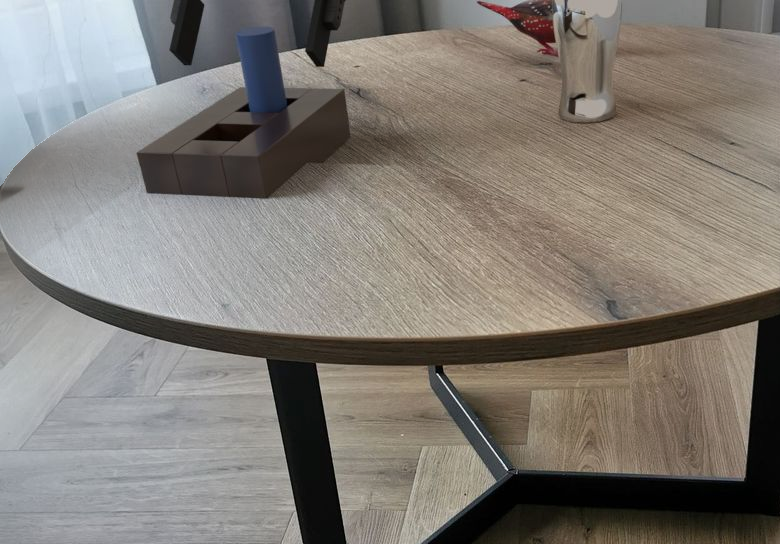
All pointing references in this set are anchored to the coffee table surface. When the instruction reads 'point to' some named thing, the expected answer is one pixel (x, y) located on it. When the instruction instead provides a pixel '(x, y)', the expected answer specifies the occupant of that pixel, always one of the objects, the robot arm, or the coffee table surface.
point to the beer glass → (587, 57)
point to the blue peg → (261, 69)
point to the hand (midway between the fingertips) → (246, 59)
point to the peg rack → (246, 145)
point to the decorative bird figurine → (530, 20)
